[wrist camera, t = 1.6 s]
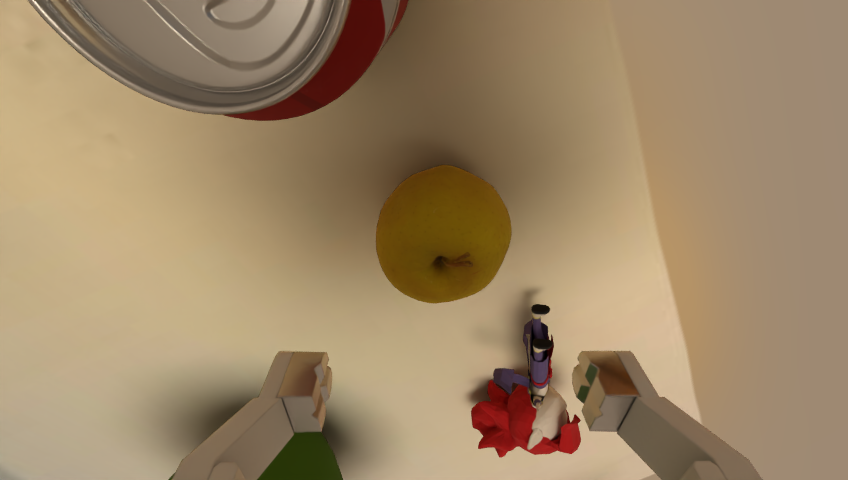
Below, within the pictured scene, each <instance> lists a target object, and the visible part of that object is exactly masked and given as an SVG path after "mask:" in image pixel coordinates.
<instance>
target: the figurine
mask: <svg viewBox="0 0 848 480" xmlns="http://www.w3.org/2000/svg"><path fill="white" fill-rule="evenodd" d="M531 310H532V319H533V324H532V320H531V321H529V322H528V323H527V324H525V327H524V335H523V342H524V344H525V346H526V352H527V359H528V368H529V355H528V339H527V337H526V334H530V373H529V369H528V378H526V377H524V376H521V375H518V374H514V370H513V369H505V368H499V369H495V370H494V373H493V376H494V380H490V381H489V384H488V395H489V398H490V400H491V401H482V402H479V403H477V404H476V405H475V406H474V407H473V408H472V411H471V417H472V425H473V428H475V429H477V430H479V431H480V432H481V434H482V435H483V436H484V437H483V438H482V439H481V441H480V442H479V446H478V449H482V448H487V447H494V448H495V449H496V451H497V453H498V455H499V457H503V456H505V455H506V453H507V452H508V451H511V450H513V449H514V448H515V447H518V446H520V447H521V448H523V449H524V450H526V451H528V452H530V453H532V454H534V455H536V454H550V453H552V452H555V451H557V450H558V451H560V452H564V453H569V454H572V453H573V452H575V451H576V450H577V449H578V447H579V445H580V442H581V437H580V431H579V427H578V423H579V422H580V419H579V418H578V417H577V415H576V414H575V415H574V418H573V421H572V422H571V423H570V420H569V415H568V412H567V410H566V407H567V405H566V402H565V401H564V399H563V398H562V397H561V395H560V394H559V393H558V392H557V391H555V390H554V389H553V388H552V387H551V386H549V382H550V379H549V378H551V377H552V368H551V356H552V353H553V348H554V343H553V337H552V334H551V341H550V340H549V337H548V326H546V325H545V324H543V323H542V322H541V316H543V315H545V314H547V313H549V311H550V308H549V307H548V306H546V305H539V304H536V305H533V306H532V309H531ZM495 383H496V384H498V385H500V386H501V387H503V388H504V389H505V390H506V391H507V392H508V393H509V394H510V395H509V394H508V393H506V392H505V391H504V390H502V389H500V388H499V387H498V386H497V385H496V384H495ZM512 383H517V384H519V385H518V386H517V387H516V389H515V390H514V391H513V393H512V394H511V387H512Z"/></svg>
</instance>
